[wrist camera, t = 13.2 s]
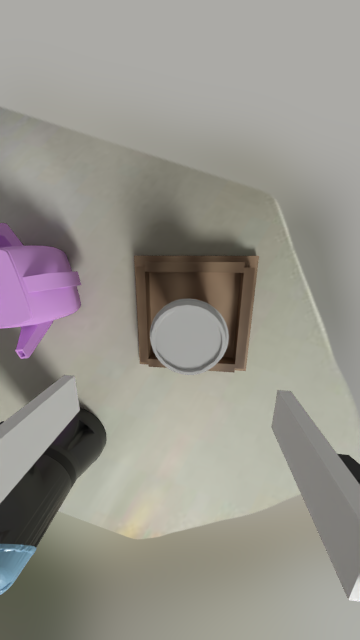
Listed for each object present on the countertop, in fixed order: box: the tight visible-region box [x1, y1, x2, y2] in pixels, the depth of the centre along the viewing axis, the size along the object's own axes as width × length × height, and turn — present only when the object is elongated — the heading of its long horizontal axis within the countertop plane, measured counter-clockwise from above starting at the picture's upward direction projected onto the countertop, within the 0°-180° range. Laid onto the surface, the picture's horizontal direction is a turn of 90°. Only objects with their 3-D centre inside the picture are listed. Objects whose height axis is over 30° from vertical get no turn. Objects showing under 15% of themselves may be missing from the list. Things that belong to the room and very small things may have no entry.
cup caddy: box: [134, 256, 259, 372], centre depth 33 cm, size 20×20×4 cm
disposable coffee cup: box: [150, 298, 229, 375], centre depth 27 cm, size 10×10×12 cm
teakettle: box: [0, 223, 81, 359], centre depth 30 cm, size 17×17×12 cm
